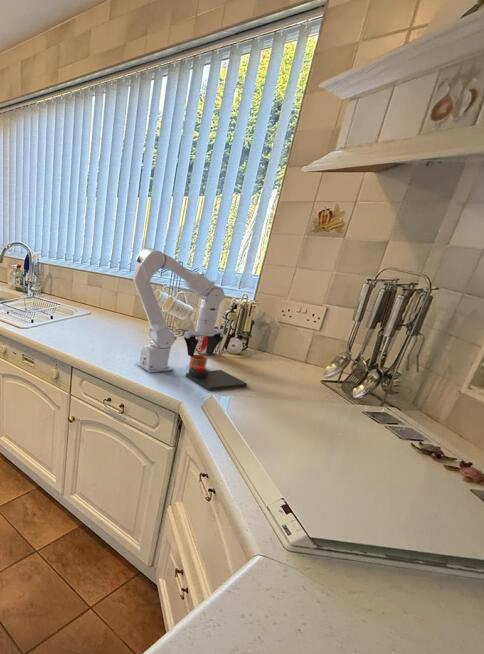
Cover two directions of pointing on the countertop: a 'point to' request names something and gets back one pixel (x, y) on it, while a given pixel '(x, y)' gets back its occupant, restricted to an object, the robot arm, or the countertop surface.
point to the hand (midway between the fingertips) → (199, 354)
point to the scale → (215, 379)
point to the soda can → (203, 344)
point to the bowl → (198, 361)
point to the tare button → (198, 368)
